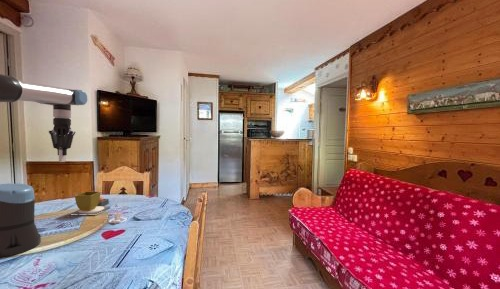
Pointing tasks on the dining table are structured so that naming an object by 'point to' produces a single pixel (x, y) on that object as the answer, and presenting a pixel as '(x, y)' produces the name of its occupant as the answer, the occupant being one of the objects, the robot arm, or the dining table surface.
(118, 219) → the teacup and saucer
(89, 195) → the flower pot
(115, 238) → the dining table surface
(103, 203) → the button housing
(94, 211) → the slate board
